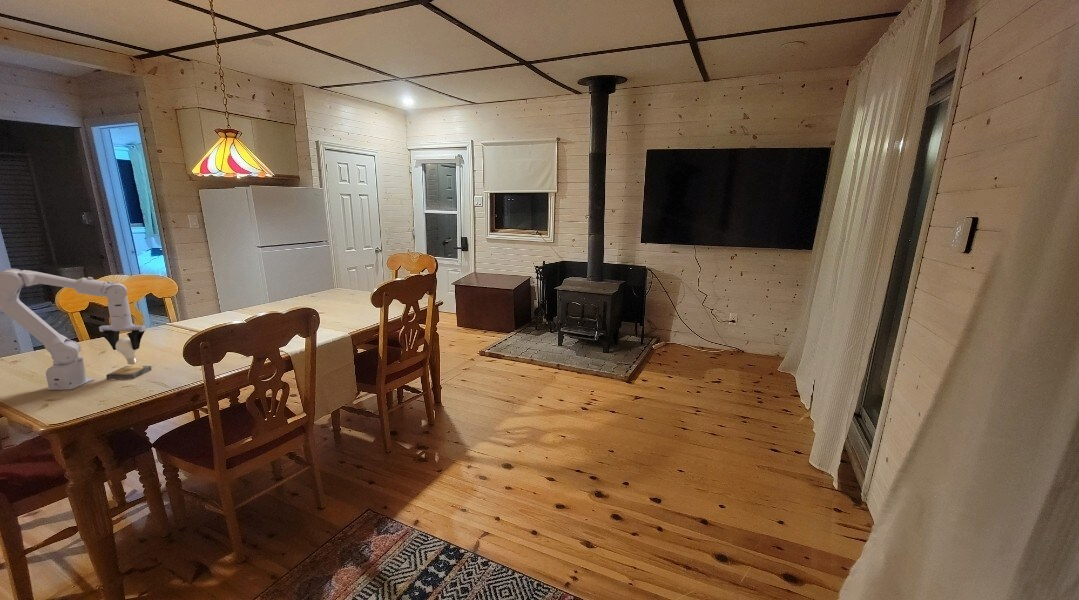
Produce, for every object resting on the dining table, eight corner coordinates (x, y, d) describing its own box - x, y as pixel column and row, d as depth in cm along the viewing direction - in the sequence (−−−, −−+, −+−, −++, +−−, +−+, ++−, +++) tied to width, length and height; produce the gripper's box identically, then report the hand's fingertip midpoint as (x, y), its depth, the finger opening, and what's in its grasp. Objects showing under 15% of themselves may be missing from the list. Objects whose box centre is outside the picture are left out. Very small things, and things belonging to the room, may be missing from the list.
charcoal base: (133, 378, 162) (132, 373, 161) (107, 379, 160) (106, 374, 160) (151, 370, 170) (150, 365, 170) (126, 370, 169) (125, 365, 169)
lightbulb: (142, 359, 170) (134, 333, 167) (144, 363, 166) (136, 337, 163) (121, 364, 165) (112, 338, 163) (122, 369, 161) (113, 342, 158)
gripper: (149, 312, 165) (155, 345, 168) (108, 312, 164) (114, 345, 166) (135, 317, 158) (141, 351, 161) (91, 316, 157) (98, 351, 160)
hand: (126, 349), depth 163 cm, fingers closed on lightbulb, 6 cm apart
